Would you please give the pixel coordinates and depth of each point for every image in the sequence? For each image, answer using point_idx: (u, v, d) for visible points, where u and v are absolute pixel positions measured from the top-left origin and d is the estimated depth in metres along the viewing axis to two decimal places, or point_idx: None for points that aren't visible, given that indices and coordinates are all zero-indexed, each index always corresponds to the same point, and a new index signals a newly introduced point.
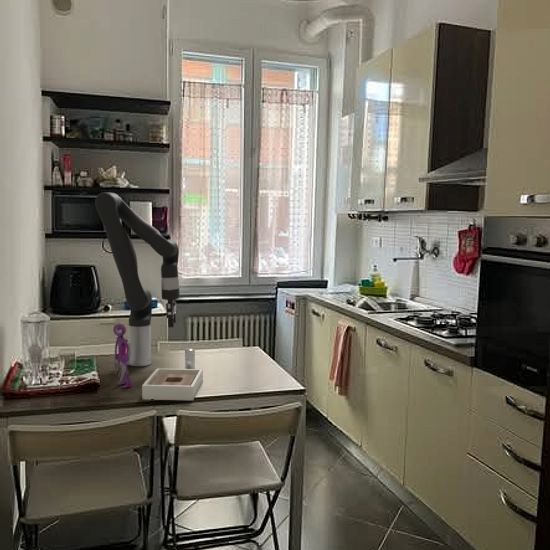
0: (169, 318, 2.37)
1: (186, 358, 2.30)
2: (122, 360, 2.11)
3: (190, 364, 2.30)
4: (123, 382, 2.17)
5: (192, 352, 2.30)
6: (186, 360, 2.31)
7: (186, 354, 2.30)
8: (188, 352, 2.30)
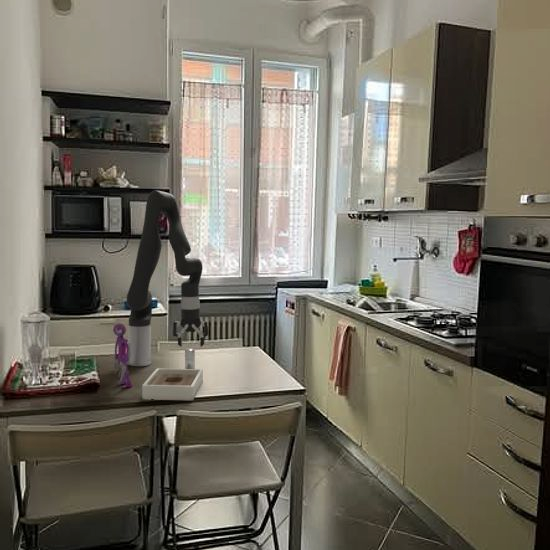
0: (204, 336, 2.31)
1: (186, 358, 2.30)
2: (122, 360, 2.11)
3: (190, 364, 2.30)
4: (123, 382, 2.17)
5: (192, 352, 2.30)
6: (186, 360, 2.31)
7: (186, 354, 2.30)
8: (188, 352, 2.30)
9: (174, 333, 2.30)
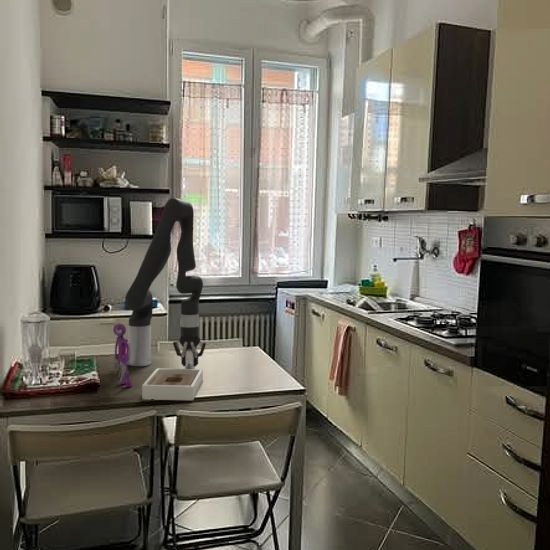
0: (198, 356, 2.32)
1: (186, 358, 2.30)
2: (122, 360, 2.11)
3: (190, 364, 2.30)
4: (123, 382, 2.17)
5: (192, 352, 2.30)
6: (186, 360, 2.31)
7: (186, 354, 2.30)
8: (188, 352, 2.30)
9: (178, 353, 2.31)
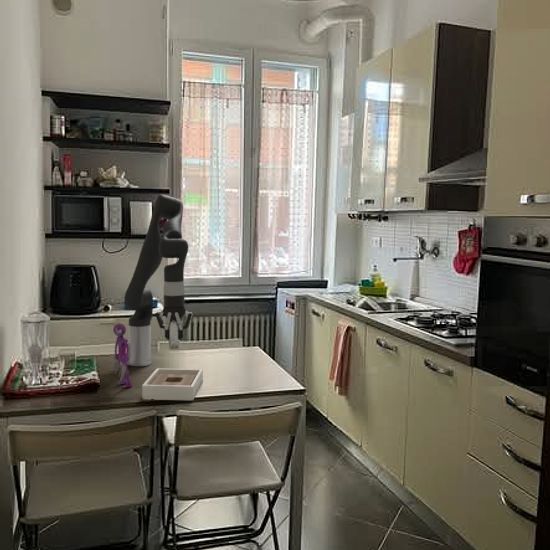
0: (183, 329, 2.08)
1: (170, 330, 2.07)
2: (122, 360, 2.11)
3: (174, 337, 2.07)
4: (123, 382, 2.17)
5: (177, 324, 2.07)
6: (170, 333, 2.07)
7: (170, 326, 2.07)
8: (172, 324, 2.06)
9: (161, 325, 2.07)
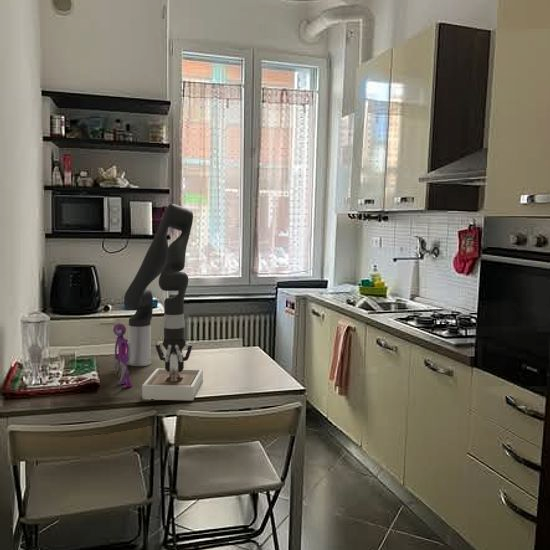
0: (183, 361, 2.09)
1: (170, 363, 2.08)
2: (122, 360, 2.11)
3: (174, 369, 2.08)
4: (123, 382, 2.17)
5: (177, 356, 2.08)
6: (170, 365, 2.08)
7: (170, 358, 2.08)
8: (172, 356, 2.08)
9: (161, 357, 2.09)
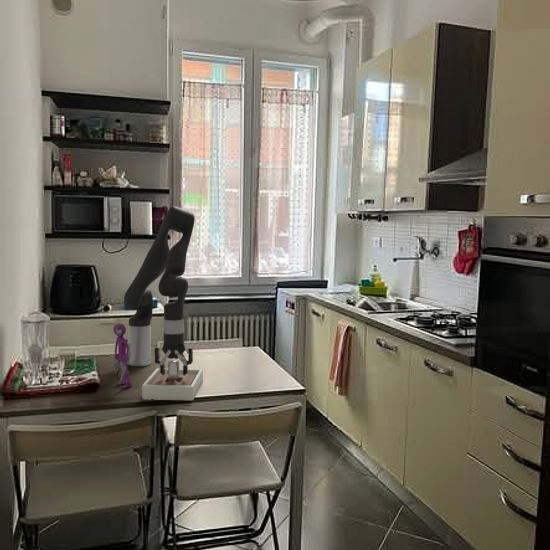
0: (187, 364, 2.09)
1: (169, 370, 2.09)
2: (122, 360, 2.11)
3: (173, 377, 2.09)
4: (123, 382, 2.17)
5: (176, 364, 2.08)
6: (169, 373, 2.09)
7: (169, 366, 2.08)
8: (172, 364, 2.08)
9: (156, 360, 2.09)
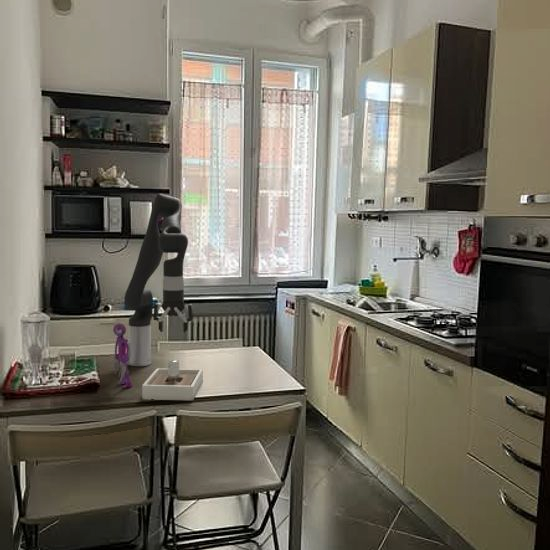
0: (188, 321, 2.08)
1: (169, 370, 2.09)
2: (122, 360, 2.11)
3: (173, 377, 2.09)
4: (123, 382, 2.17)
5: (176, 364, 2.08)
6: (169, 373, 2.09)
7: (169, 366, 2.08)
8: (171, 364, 2.08)
9: (154, 317, 2.07)
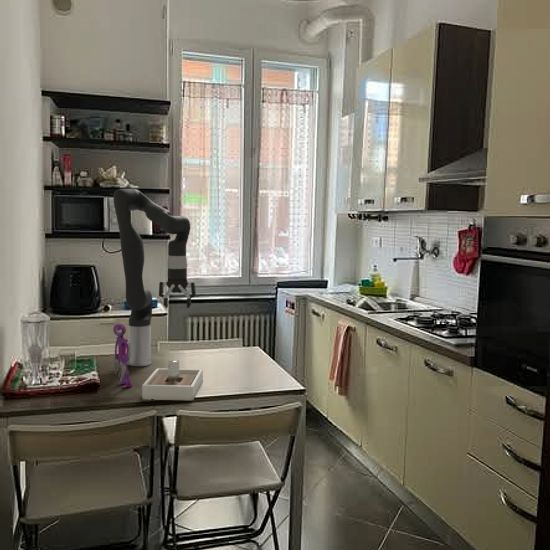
0: None
1: (169, 370, 2.09)
2: (122, 360, 2.11)
3: (173, 377, 2.09)
4: (123, 382, 2.17)
5: (176, 364, 2.08)
6: (169, 373, 2.09)
7: (169, 366, 2.08)
8: (172, 364, 2.08)
9: (160, 293, 2.23)
